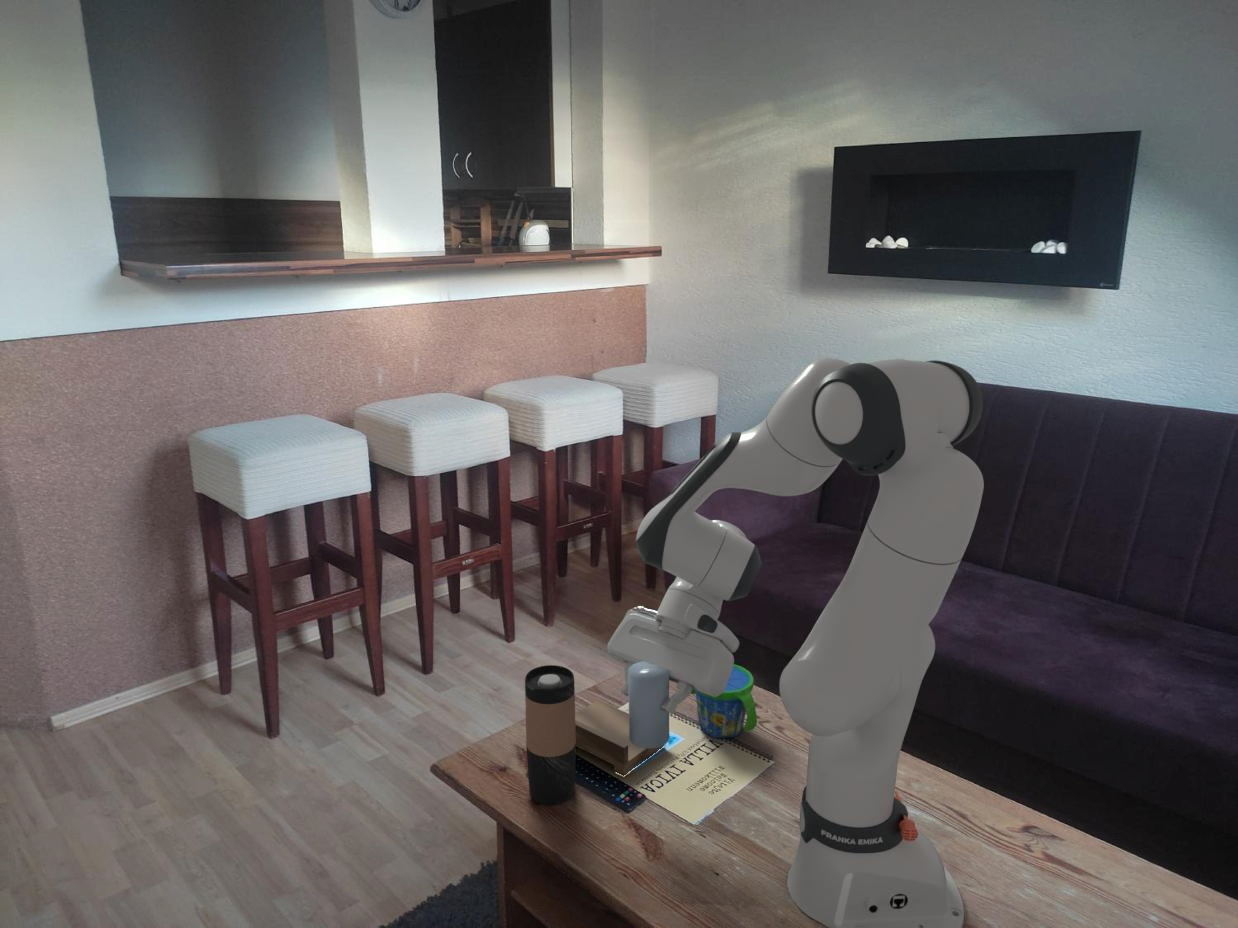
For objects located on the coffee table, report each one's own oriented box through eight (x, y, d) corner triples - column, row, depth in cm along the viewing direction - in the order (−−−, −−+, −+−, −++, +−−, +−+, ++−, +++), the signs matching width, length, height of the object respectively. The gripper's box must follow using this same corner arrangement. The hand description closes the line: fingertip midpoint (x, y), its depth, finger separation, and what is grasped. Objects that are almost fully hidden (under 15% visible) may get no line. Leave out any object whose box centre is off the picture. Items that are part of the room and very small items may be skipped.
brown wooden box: (597, 714, 162) (597, 684, 160) (668, 747, 152) (669, 715, 150) (551, 743, 153) (551, 712, 151) (624, 780, 143) (624, 747, 142)
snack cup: (772, 742, 154) (775, 689, 151) (721, 759, 149) (723, 705, 146) (720, 699, 167) (722, 650, 164) (672, 714, 162) (673, 663, 159)
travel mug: (579, 777, 144) (578, 665, 138) (572, 807, 137) (570, 691, 131) (532, 774, 145) (529, 663, 139) (523, 804, 137) (519, 688, 132)
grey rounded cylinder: (669, 726, 137) (669, 661, 134) (668, 748, 131) (668, 681, 128) (630, 725, 137) (629, 660, 134) (627, 747, 131) (626, 680, 128)
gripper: (623, 594, 141) (583, 674, 136) (733, 629, 128) (693, 718, 123) (641, 611, 145) (603, 689, 141) (749, 646, 133) (711, 733, 128)
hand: (646, 703), depth 132 cm, fingers closed on grey rounded cylinder, 6 cm apart
